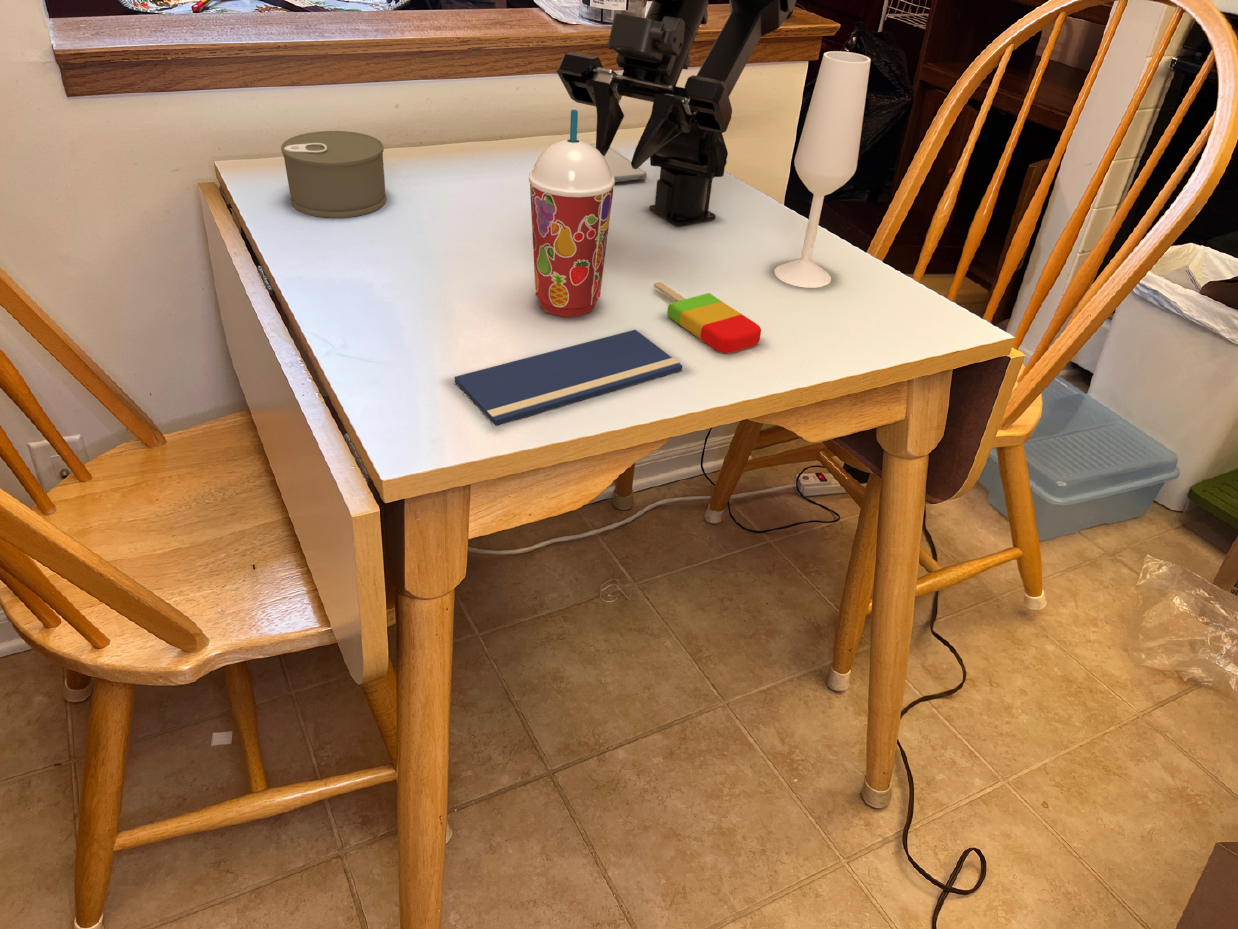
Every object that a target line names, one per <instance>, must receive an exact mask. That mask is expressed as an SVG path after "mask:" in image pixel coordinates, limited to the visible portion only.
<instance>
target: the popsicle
mask: <svg viewBox="0 0 1238 929" xmlns="http://www.w3.org/2000/svg"><path fill="white" fill-rule="evenodd" d="M653 287H654V288H656V289H657V290H658V291H660V292H661V293H663V294H665V295H666V296H667V297H669V298H671V299H672V300H673V302H669V304H668V305H667V317H668V318H670V319H671V320H672V321H673V322H676V323H677V324H678V325H679V326H681V327H683V329H685V330H687V331H688V332H689V333H691V334H693V335H694V336H695V337H697V338H698V339H700V340H701V341H702V342H704V343H705V344H707V346H710V347H711V348H712V349H714V350H716V351H717V352H719V353H722V354H731V353H734V352H738V351H742V350H745V349H748V348H751V347H754V346H757V345H758V344H759V342H760V340H761V335H762V328H761V326H760V325H759V324H757V323H756V322H755V321H753V319H750V318H749V317H747V316H746V315H744V314H742V313H741V312H740V311H738V310H736V309H734V308H733V307H731V306H730V305H729V304H727V303H725V302H724V301H722V300H721V299H720V298H718V297H716V296H714V295H713V294H711V293H704V294H699V295H697V296H692V297H689V298H685V297H683V295H682V294H681V295H680V293H678V292H676V291H675V290H674V289H672V288H671V287H669V286H667V285H665V283H663V282H660V281H656V282H654V283H653Z"/></svg>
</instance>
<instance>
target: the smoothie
mask: <svg viewBox="0 0 1238 929" xmlns="http://www.w3.org/2000/svg"><path fill="white" fill-rule="evenodd" d="M578 117H579V110H577V109H570V123H569V124H570V125H569V126H570V127H569V138H565V139H560V140H557V141H556V142H553V143H551V144H550V145H548V147H546V148H545V149H544V150H542V152H541V153H540V154H539V156H538V158H537V160H536V162H535V164H534V167H533V169H531V171H530V172H529V173H528V182H529V193H530V195H529V196H530V213H531V214H530V215H531V231H532V232H531V233H532V235H531V236H532V250H533V251H532V252H533V272H534V291H535V296H536V298H537V299H538V301H539V303H540V307H541V308H542V310H544V311H545V312H546V313H549V314H551V315H553V316H554V315H555V316H557V317H563V318H574V317H575V318H576V317H580V316H583V315H587V314H589V313H590V312H592V311H593V309H594V308H595V305H596V303H597V302H598V301H599V299H600V297H601V291H602V282H603V276H604V268H605V259H606V251H607V243H608V235H609V229H610V228H609V227H610V221H611V220H610V219H611V212H612V204H613V196H614V187H615V186H616V185H615V183H616V182H615V178H614V176H613V175H612V174H611V173H610V169H609V166H608V164H607V161H606V160H605V158H604V156H603V155H602V154H601V153H600V152H599V151H598V150H597V149H596V148H595V147H594V146H593V145H591V144H592V143H589V142H587V141H585V140H582V139H579V138H578V121H579V120H578V119H579V118H578Z"/></svg>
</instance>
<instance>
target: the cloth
mask: <svg viewBox="0 0 1238 929" xmlns="http://www.w3.org/2000/svg"><path fill="white" fill-rule="evenodd" d="M681 371H683V364H681V362H680V361H679V360H678V359H676V358H675V357H672V356H671V355H670V354H668V353H667V352H665V351H664V349H662V348H661V347H659V346H658V345H656V343H654V342H653V341H651V340H650V339H649V338H647V337H646V336H645V335H643V334H642V333H641V332H639V331H638V330H637V329H632V330H629V331H624V332H620V333H617V334H612V335H609V336H605V337H602V338H597V339H593V340H590V341H586V342H583V343H579V344H575V345H571V346H567V347H563V348H560V349H555V350H552V351H547V352H544V353H540V354H536V355H533V356H529V357H525V358H521V359H516V360H513V361H509V362H505V363H502V364H498V365H494V366H490V367H486V368H482V369H479V370H475V371H471V372H468V373H463V374H460V375H456V376H454V383H455V384H456V385H457V386H458V387H459V388H460V390H462V392H463V393H464V394H465V395H466V396H467V397H468V398H469V399H470V400H471V401H472V403H474V404H475V406H476V407H477V408H478V409H479V410H480V411H481V412H482V413H483V414H484V415H485V416H486V417H487V418H488V420H489V421H490V422H491V423H492V424H493V425H494V426H499V425H502V424H503V425H504V424H506V423H509V422H513V421H517V420H519V419H523V418H526V417H529V416H534V415H536V414H539V413H543V412H547V411H551V410H553V409H556V408H560V407H564V406H566V405H570V404H574V403H577V402H580V401H584V400H587V399H590V398H594V397H598V396H600V395H603V394H608V393H611V392H614V391H617V390H621V389H624V388H627V387H631V386H634V385H638V384H641V383H645V382H649V381H651V380H654V379H658V378H661V377H665V376H668V375H671V374H675V373H679V372H681Z"/></svg>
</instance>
